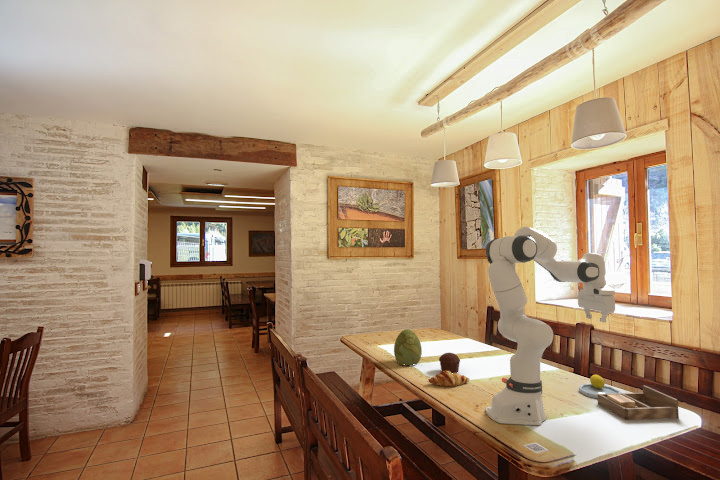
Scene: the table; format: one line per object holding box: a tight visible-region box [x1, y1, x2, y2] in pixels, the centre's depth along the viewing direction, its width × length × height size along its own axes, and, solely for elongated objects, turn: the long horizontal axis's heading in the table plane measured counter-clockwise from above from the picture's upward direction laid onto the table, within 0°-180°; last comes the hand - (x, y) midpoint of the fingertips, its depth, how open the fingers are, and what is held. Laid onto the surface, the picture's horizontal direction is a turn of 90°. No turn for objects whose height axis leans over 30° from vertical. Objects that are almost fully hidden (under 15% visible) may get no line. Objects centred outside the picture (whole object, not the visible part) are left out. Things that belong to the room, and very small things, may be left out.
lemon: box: [589, 374, 605, 389], centre depth 177 cm, size 6×6×8 cm
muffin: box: [438, 352, 461, 373], centre depth 207 cm, size 12×11×10 cm
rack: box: [597, 385, 680, 421], centre depth 153 cm, size 21×16×7 cm
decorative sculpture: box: [393, 328, 423, 366], centre depth 224 cm, size 16×16×20 cm
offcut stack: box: [607, 394, 638, 408], centre depth 152 cm, size 6×9×5 cm
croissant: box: [428, 371, 471, 387], centre depth 187 cm, size 21×10×8 cm, turn 99°
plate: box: [578, 383, 622, 400], centre depth 172 cm, size 16×16×2 cm
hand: (595, 320), depth 168 cm, fingers open, 8 cm apart
